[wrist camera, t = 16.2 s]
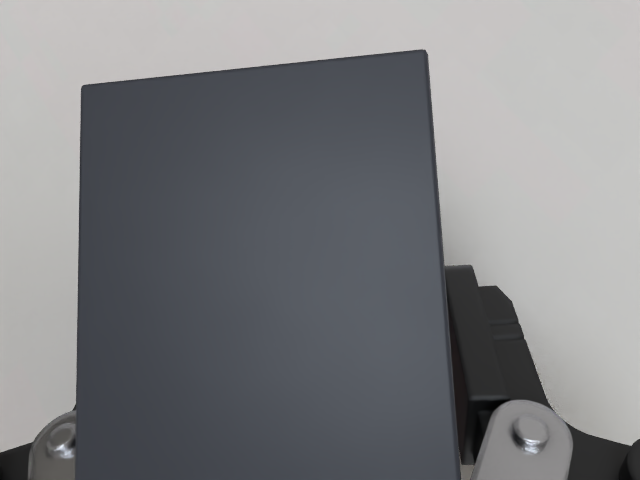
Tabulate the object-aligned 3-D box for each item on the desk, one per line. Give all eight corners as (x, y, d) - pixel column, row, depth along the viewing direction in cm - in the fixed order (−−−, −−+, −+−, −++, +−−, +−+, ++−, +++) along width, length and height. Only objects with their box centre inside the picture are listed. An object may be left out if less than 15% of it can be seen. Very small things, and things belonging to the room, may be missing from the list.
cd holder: (425, 513, 15) (508, 917, 5) (259, 513, 16) (56, 874, 6) (403, 198, 16) (437, 45, 6) (250, 208, 17) (70, 83, 7)
